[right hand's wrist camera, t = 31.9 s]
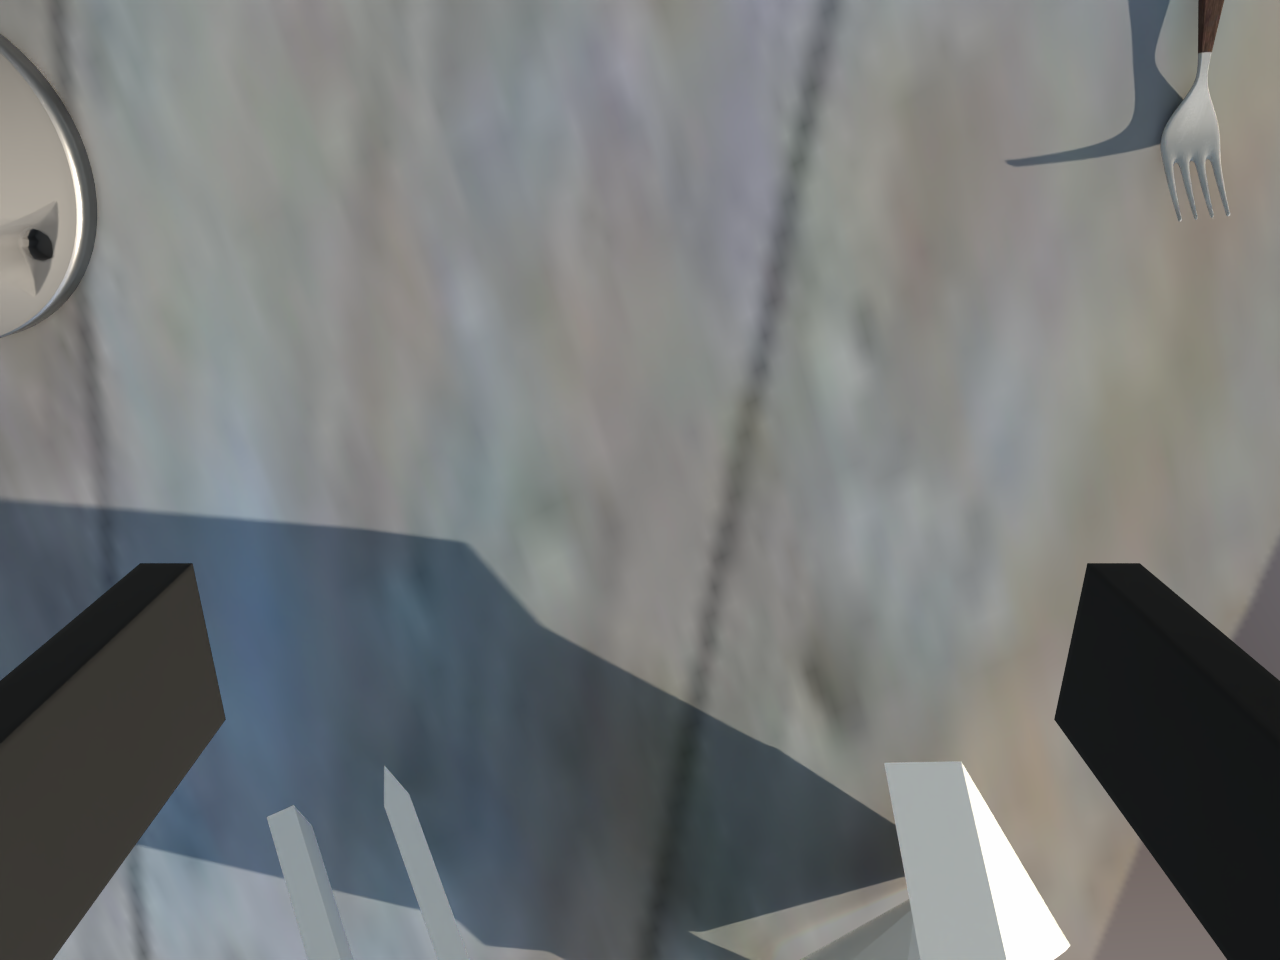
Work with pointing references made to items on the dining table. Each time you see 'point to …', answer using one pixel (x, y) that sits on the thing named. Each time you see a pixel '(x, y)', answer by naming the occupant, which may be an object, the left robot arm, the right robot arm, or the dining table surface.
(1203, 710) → the right robot arm
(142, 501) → the dining table surface
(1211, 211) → the fork
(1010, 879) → the white plastic object
